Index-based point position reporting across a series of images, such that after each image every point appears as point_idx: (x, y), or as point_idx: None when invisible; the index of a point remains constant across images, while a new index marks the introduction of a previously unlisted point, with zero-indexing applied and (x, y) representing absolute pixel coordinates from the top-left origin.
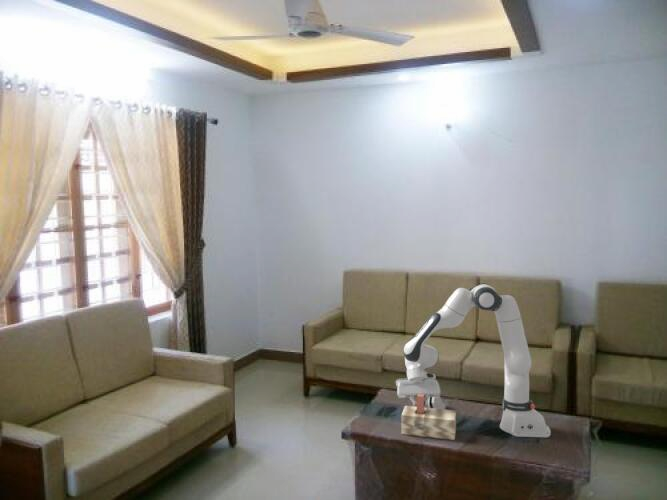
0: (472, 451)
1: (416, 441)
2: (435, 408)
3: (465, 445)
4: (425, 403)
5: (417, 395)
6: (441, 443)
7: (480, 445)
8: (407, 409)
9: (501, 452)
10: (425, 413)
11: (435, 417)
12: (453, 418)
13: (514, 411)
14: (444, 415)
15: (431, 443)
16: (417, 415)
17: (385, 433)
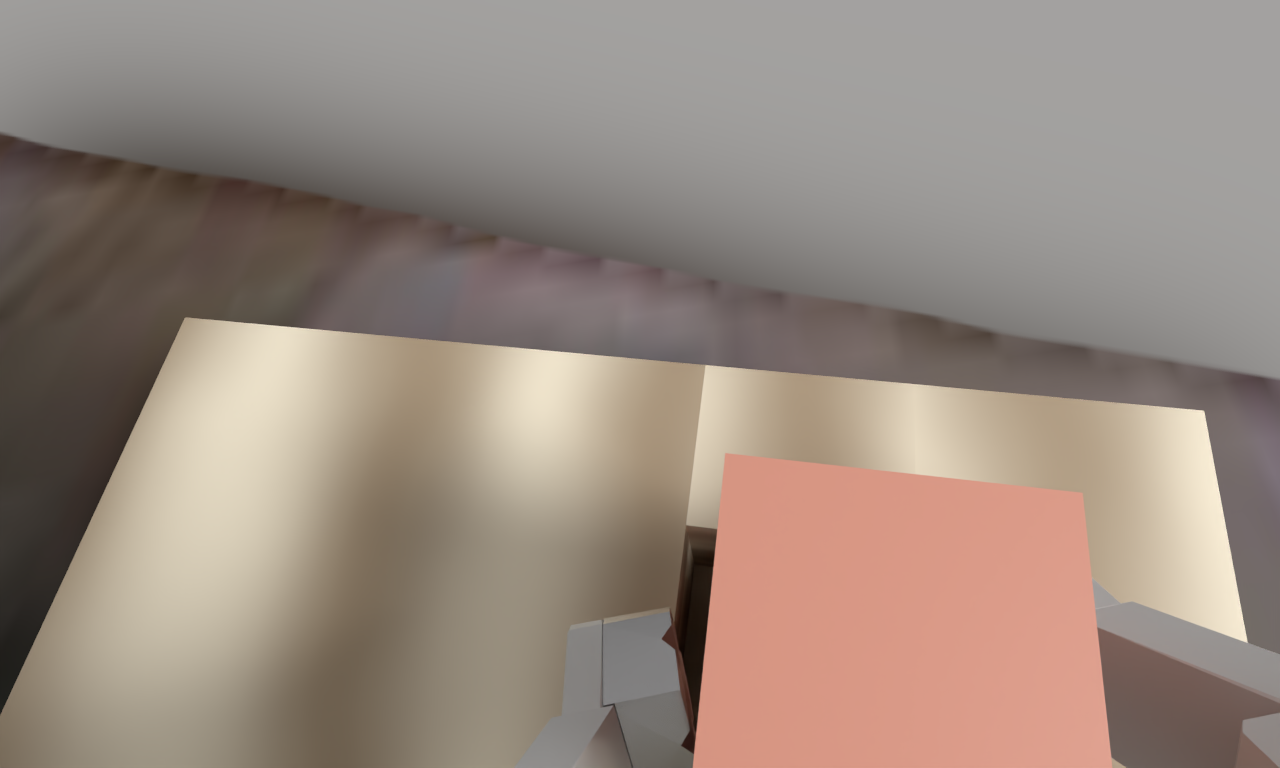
0: (260, 217)
1: (792, 329)
2: None
3: (282, 320)
4: (654, 620)
5: (1080, 592)
6: (516, 325)
7: (135, 344)
8: None
9: (19, 242)
10: (671, 574)
11: (486, 394)
12: (174, 397)
13: None
14: (291, 518)
15: (624, 309)
16: (843, 439)
17: (1251, 496)
